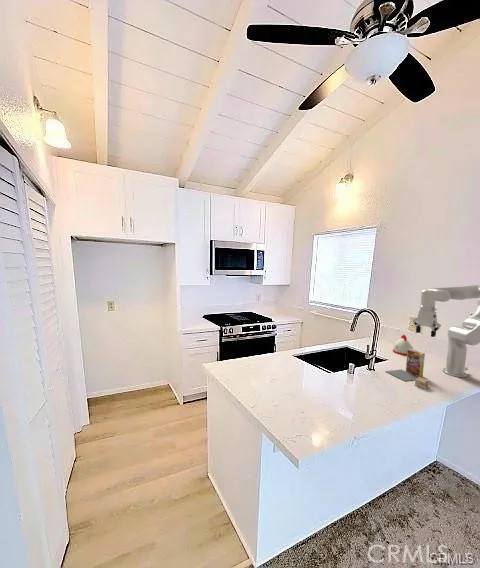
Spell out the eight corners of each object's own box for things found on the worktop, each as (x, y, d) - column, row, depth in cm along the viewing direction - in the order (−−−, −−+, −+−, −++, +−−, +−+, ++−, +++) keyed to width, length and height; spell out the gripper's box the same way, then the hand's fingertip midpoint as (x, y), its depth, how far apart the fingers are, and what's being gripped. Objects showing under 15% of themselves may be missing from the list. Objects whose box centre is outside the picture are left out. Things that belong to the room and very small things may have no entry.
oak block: (418, 383, 154) (419, 377, 154) (428, 387, 150) (428, 380, 150) (414, 385, 151) (415, 379, 151) (424, 389, 147) (425, 382, 147)
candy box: (405, 371, 171) (407, 349, 170) (409, 370, 172) (411, 348, 171) (418, 377, 163) (421, 354, 161) (423, 376, 164) (425, 353, 163)
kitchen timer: (396, 354, 204) (398, 336, 203) (389, 349, 217) (391, 332, 216) (416, 356, 202) (417, 338, 200) (407, 350, 215) (409, 333, 214)
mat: (401, 369, 173) (401, 369, 173) (421, 379, 160) (421, 378, 160) (385, 371, 169) (385, 371, 169) (404, 381, 156) (404, 380, 156)
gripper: (445, 311, 159) (443, 337, 160) (418, 306, 175) (416, 330, 177) (437, 311, 156) (435, 338, 158) (410, 306, 173) (408, 331, 174)
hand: (425, 334), depth 167 cm, fingers open, 9 cm apart
